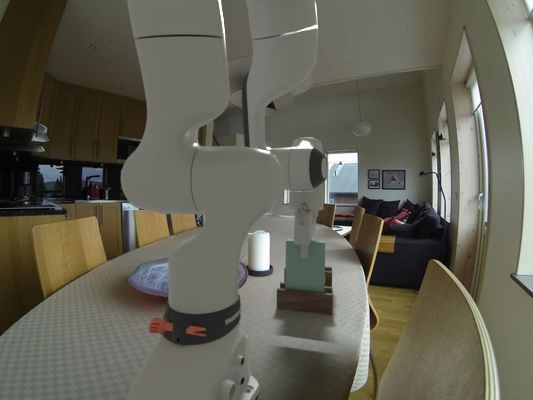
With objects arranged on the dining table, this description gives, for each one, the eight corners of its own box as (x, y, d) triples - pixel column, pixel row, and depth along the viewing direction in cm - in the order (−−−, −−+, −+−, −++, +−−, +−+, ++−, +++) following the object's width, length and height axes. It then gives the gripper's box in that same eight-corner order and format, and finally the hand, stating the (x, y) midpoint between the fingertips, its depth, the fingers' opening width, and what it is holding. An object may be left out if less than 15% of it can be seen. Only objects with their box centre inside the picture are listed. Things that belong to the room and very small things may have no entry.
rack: (332, 321, 63) (332, 287, 63) (276, 314, 66) (276, 281, 66) (331, 294, 80) (332, 266, 79) (286, 289, 83) (287, 263, 83)
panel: (324, 305, 65) (325, 242, 64) (285, 300, 67) (285, 240, 67) (324, 302, 67) (325, 241, 66) (286, 297, 69) (287, 239, 69)
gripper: (316, 205, 55) (315, 268, 56) (319, 201, 75) (319, 248, 76) (287, 204, 57) (286, 266, 57) (298, 201, 77) (297, 246, 77)
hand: (305, 255), depth 67 cm, fingers closed on panel, 2 cm apart
